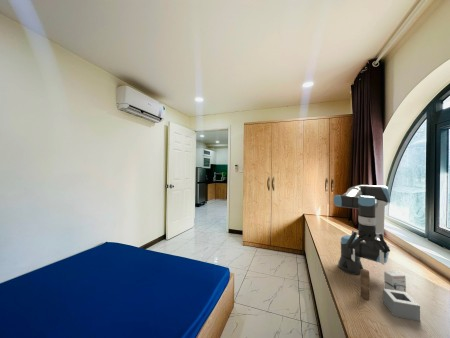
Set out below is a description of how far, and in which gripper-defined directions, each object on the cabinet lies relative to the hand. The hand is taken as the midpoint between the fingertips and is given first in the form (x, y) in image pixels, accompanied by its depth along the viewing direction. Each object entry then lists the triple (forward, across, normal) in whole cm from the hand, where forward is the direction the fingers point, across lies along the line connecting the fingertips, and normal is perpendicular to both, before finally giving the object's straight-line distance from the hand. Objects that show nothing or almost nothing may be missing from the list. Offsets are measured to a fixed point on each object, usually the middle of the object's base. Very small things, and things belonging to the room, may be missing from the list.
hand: (367, 261), depth 100 cm
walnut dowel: (+21, -1, 0) cm, 21 cm away
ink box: (+21, +17, +9) cm, 28 cm away
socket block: (+20, +12, -6) cm, 24 cm away
